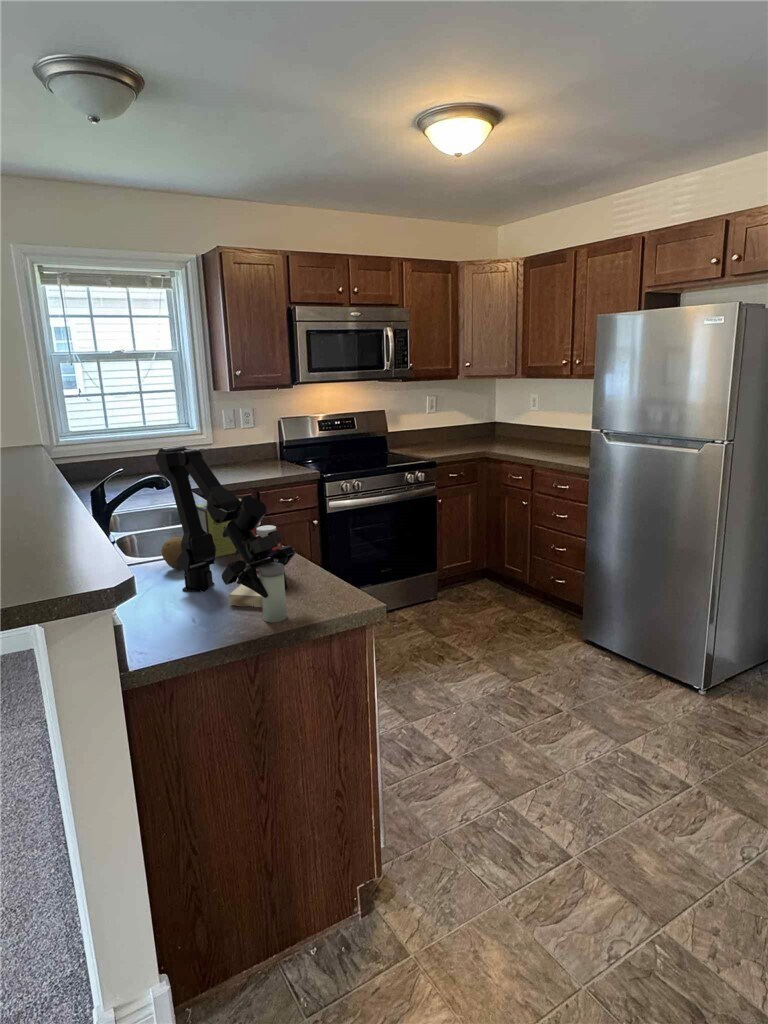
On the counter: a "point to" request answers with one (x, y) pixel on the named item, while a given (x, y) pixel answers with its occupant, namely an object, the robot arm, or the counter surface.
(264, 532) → the pill bottle
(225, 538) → the protein box
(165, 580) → the counter surface
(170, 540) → the natural sponge
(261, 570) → the spice jar
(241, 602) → the maple board
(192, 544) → the robot arm
